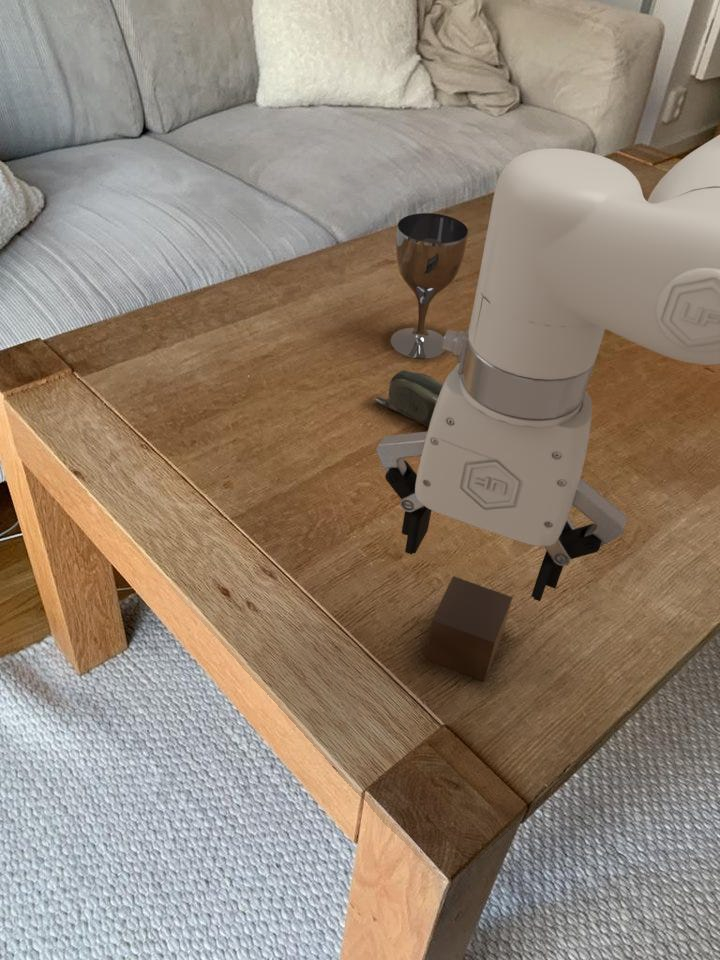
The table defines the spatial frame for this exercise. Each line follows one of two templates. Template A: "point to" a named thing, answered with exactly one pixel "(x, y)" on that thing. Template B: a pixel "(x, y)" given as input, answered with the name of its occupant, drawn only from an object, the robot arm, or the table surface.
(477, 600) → the walnut block
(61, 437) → the table surface
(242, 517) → the table surface
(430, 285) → the wine glass
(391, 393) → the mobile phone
